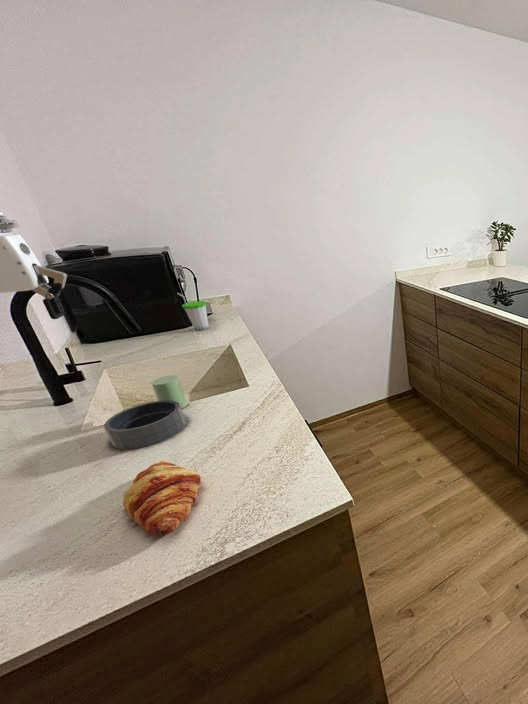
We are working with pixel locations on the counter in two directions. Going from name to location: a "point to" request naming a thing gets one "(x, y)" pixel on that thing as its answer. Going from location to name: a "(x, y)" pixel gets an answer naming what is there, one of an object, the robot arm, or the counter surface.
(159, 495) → the croissant
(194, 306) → the cup
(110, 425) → the basin
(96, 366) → the counter surface
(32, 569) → the counter surface
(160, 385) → the mint green cylinder
